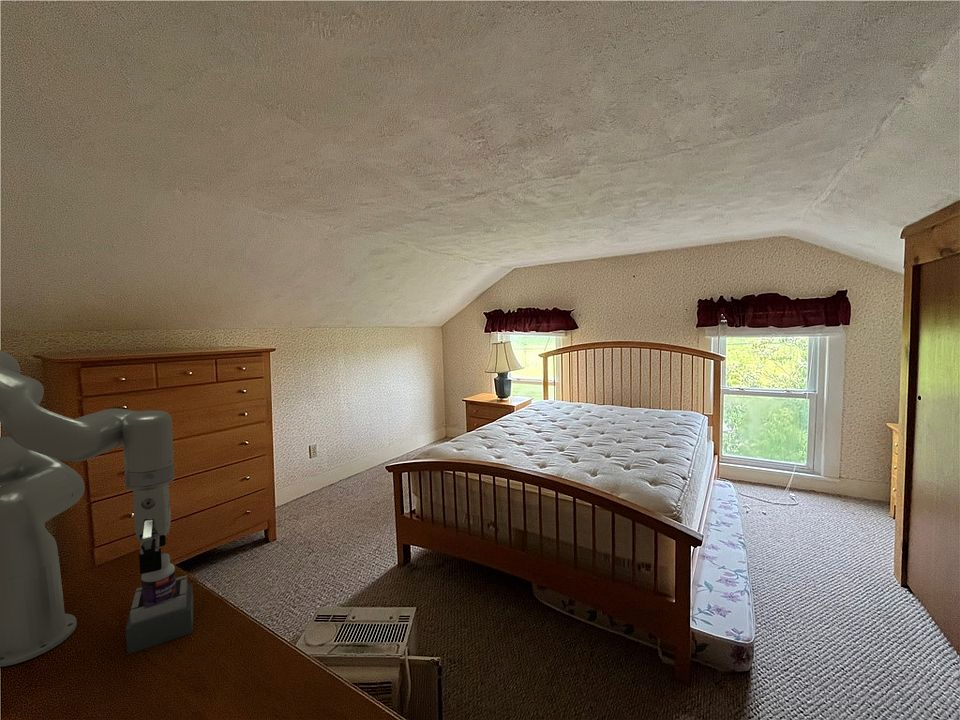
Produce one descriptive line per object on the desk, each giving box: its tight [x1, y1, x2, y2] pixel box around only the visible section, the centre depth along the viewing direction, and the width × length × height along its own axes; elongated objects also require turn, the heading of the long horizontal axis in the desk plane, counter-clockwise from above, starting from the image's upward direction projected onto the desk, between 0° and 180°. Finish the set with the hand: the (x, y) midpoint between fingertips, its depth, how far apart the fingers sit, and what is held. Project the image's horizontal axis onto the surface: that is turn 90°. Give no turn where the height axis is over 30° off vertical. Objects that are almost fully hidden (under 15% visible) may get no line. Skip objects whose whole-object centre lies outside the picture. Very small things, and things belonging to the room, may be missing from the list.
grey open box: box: [125, 574, 195, 655], centre depth 85 cm, size 10×10×8 cm
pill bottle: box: [140, 552, 177, 606], centre depth 85 cm, size 5×5×10 cm
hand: (153, 558), depth 84 cm, fingers open, 9 cm apart
